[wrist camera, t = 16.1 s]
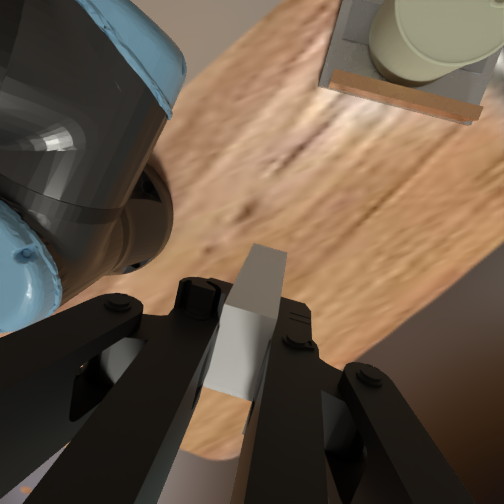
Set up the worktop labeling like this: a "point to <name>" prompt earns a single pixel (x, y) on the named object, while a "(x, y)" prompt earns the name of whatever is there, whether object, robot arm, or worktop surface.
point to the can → (433, 37)
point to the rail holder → (384, 91)
